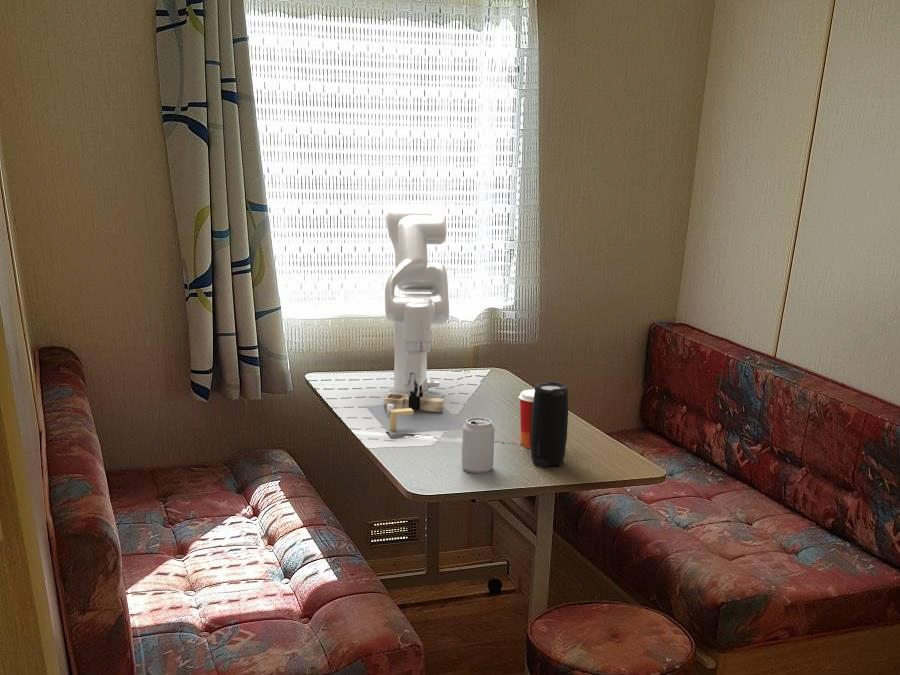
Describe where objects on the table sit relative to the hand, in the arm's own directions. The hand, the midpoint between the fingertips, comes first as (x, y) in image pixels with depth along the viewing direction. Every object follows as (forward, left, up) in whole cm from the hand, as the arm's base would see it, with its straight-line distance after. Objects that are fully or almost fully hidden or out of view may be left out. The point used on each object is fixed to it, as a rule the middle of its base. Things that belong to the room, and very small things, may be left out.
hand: (415, 406), depth 234 cm
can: (-1, +46, -2) cm, 46 cm away
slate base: (+2, +6, -2) cm, 6 cm away
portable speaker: (-19, +47, -2) cm, 51 cm away
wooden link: (0, 0, 0) cm, 1 cm away
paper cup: (-21, +34, -2) cm, 40 cm away
